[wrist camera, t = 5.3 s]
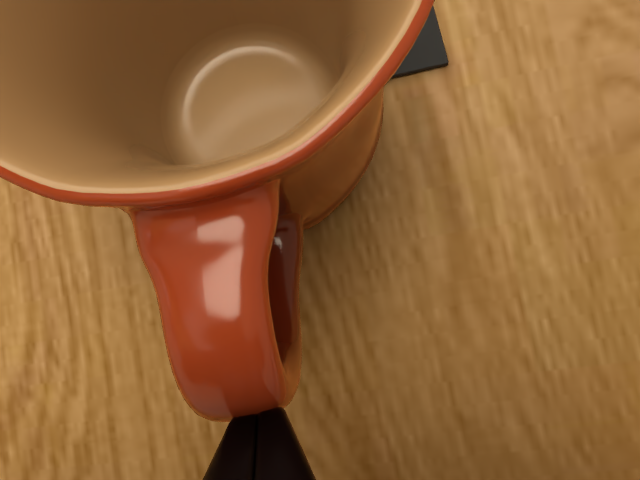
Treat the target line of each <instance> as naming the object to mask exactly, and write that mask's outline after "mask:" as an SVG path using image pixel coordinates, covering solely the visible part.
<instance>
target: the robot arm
mask: <svg viewBox="0 0 640 480" xmlns="http://www.w3.org/2000/svg"><path fill="white" fill-rule="evenodd" d="M203 480H316V479H315V476H314V474H313V472H312V470H311V467H310V465H309V463H308V461H307V458H306V456H305V454H304V452H303V450H302V447H301V445H300V443H299V441H298V438H297V436H296V434H295V432H294V429H293V427H292V425H291V423H290V421H289V418H288V416H287V414H286V412H285V410H284V408H282V407H277V408H273V409H270V410H267V411H263V412H260V413H259V415H258V414H250V415H245V416H239V417H234V418H233V419H232V420H231V421H230V423H229V425H228V427H227V429H226V431H225V434H224V436H223V438H222V440H221V442H220V444H219V446H218V448H217V451H216V453H215V455H214V457H213V459H212V461H211V463H210V465H209V467H208V470H207V472H206V474H205V476H204V478H203Z"/></svg>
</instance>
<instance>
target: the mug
mask: <svg viewBox="0 0 640 480" xmlns="http://www.w3.org/2000/svg"><path fill="white" fill-rule="evenodd" d="M434 1H435V0H0V177H1V178H3V179H5V180H7V181H9V182H11V183H13V184H15V185H17V186H19V187H21V188H23V189H26V190H28V191H31V192H33V193H36V194H38V195H41V196H43V197H46V198H49V199H52V200H56V201H59V202H64V203H71V204H77V205H83V206H94V207H114V208H120V209H122V210H123V211H125V212H126V213H128V215H129V216H130V218H131V220H132V222H133V227H134V233H135V238H136V243H137V247H138V250H139V253H140V256H141V258H142V261H143V263H144V265H145V267H146V269H147V271H148V273H149V275H150V278H151V280H152V282H153V285H154V288H155V292H156V295H157V300H158V305H159V310H160V316H161V321H162V327H163V333H164V338H165V343H166V348H167V353H168V357H169V361H170V365H171V368H172V372H173V375H174V378H175V381H176V383H177V386H178V389H179V390H180V392H181V394H182V396H183V398H184V400H185V401H186V402H187V404H188V405H189V406H190V408H191V409H192V410H193V411H194V412H195V413H196V414H197V415H199V416H201V417H203V418H205V419H208V420H211V421H216V422H230V421H231V420H232V419H233V418H234V417H239V416H245V415H250V414H258V415H259V413H260V412H263V411H267V410H270V409H273V408H277V407H282V408H285V407H286V406H287V405H288V404H289V403H290V402H291V401H292V399H293V397H294V395H295V393H296V391H297V388H298V385H299V381H300V375H301V365H302V337H301V322H300V308H299V279H300V272H301V264H302V255H303V230H305V229H308V228H310V227H312V226H314V225H316V224H318V223H320V222H321V221H322V220H324V219H325V218H326V217H327V216H328V215H330V214H331V213H332V212H333V211H334V210H335V209H336V208H337V207H338V206H339V205H340V204H341V203H342V202H343V201H344V200H345V199H346V198H347V197H348V195H349V194H350V193H351V192H352V190H353V189H354V188H355V186H356V185H357V183H358V182H359V180H360V179H361V177H362V176H363V174H364V173H365V171H366V169H367V167H368V165H369V164H370V162H371V160H372V157H373V155H374V152H375V150H376V147H377V144H378V140H379V137H380V132H381V127H382V120H383V91H384V86H385V85H386V83H387V82H388V81H389V80H390V78H391V77H392V76H393V75H394V74H395V72H396V71H397V69H398V68H399V66H400V65H401V63H402V62H403V60H404V59H405V57H406V56H407V54H408V53H409V51H410V50H411V48H412V47H413V45H414V43H415V41H416V39H417V37H418V35H419V33H420V32H421V30H422V28H423V26H424V24H425V22H426V20H427V18H428V16H429V13H430V11H431V8H432V6H433V3H434Z"/></svg>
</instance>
